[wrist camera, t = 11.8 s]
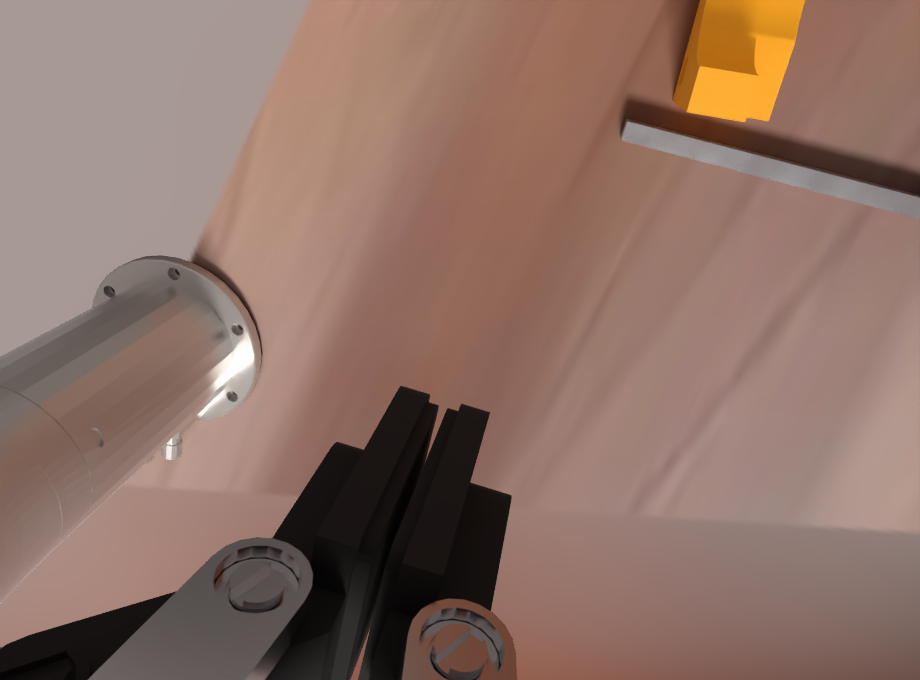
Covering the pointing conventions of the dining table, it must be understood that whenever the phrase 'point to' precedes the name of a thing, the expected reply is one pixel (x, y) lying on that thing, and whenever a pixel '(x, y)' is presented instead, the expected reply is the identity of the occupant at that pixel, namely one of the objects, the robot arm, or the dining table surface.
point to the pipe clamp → (737, 57)
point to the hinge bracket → (772, 168)
